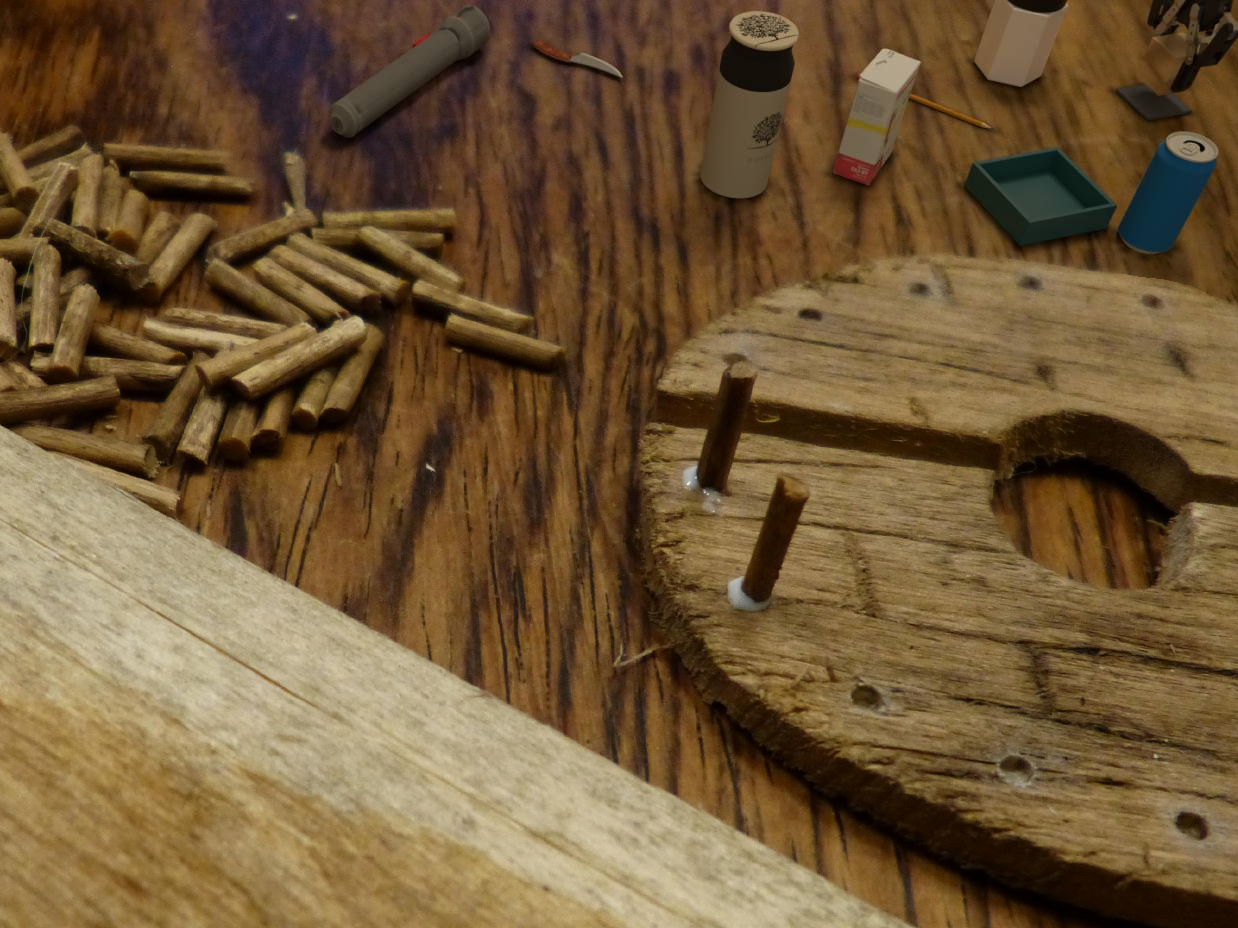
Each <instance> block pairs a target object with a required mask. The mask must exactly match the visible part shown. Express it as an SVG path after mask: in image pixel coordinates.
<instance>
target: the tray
mask: <svg viewBox="0 0 1238 928" xmlns="http://www.w3.org/2000/svg"><path fill="white" fill-rule="evenodd" d="M963 186H964V188H966V189H967V191H968V192H969V193H970V194H971V195H972V196H973V197H974V198H975V199H976V200H977V201H978V202H979V204H980V205H981V206H982V207H983V208H984V209H985V210H986V211H987V212H988V213H989V215H990V216H991V217H992V218H993V219H994V220H995V221H996V222H997V223H998V224H999V225H1000V227H1002V228H1003V230H1004V231H1005V232H1006V233H1007V234H1008V235H1009V236H1010V237H1011V239H1013V241H1014V242H1015V243H1017V245H1018V246H1019V247H1021V246H1022V247H1023V246H1027V245H1033V244H1037V243H1042V242H1047V241H1051V240H1052V241H1053V240H1056V239H1062V238H1066V237H1072V236H1076V235H1081V234H1086V233H1090V232H1097V231H1100V230H1101V231H1102V230H1106V229H1107V228H1108V226H1109V224H1110V222H1111V220H1112V218H1113V216H1114V214H1115V212H1116V210H1117V208H1118V204H1117V203H1116V202H1115V201H1114V200H1113V199H1111V197H1110V196H1109V195H1108V194H1106V192H1105V191H1103V189H1101V187H1099V185H1098V184H1096V182H1095V181H1093V179H1091V178H1090V176H1088V175H1087V174H1086V173H1085V172H1084V171H1083V170H1082V169H1081V168H1080V167H1079V166H1078V164H1076V163H1075V162H1074V161H1073V160H1072V158H1070V157H1069V155H1067V154H1066V153H1065V152H1064V151H1063V150H1062V149H1061V148H1060V147H1059V146H1055V147H1049V148H1043V149H1039V150H1033V151H1028V152H1022V153H1017V154H1012V155H1006V156H1001V157H995V158H989V159H983V160H977V161H973V162H972V163H971V166H970V170H969V171H968V174H967V176H966V180H965V182H964V184H963Z"/></svg>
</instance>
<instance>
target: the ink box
mask: <svg viewBox="0 0 1238 928" xmlns="http://www.w3.org/2000/svg"><path fill="white" fill-rule="evenodd" d="M921 63H922V62H921V61H920V60H917V59H915V58H912V57H910V56H907V55H905V54H902V53H900V52H897V51H894V50H892V49H889V48H882V49H881V50H880V51H879V52H877V55H875V57H874V58H873V59H872V60H871V62H870V63H868V65H867V66H866V67H865V68H864V70H862V72H860V73H861V74H860V79H859V78H858V83H857V86H856V89H855V93H854V96H853V99H852V104H851V107H850V109H849V113H848V117H847V121H846V124H845V128H844V131H843V133H842V138H841V141H840V144H839V149H838V152H837V155H836V159H835V162H834V166H833V170H832V174H834V175H837V176H841V177H843V178H844V179H845V178H846V179H849V180H852V181H854V182H857V183H861V184H862V185H865V186H870V185H871V183H872V182H873V180H874V179H875V178H876V176H877V174H879V172H880V171H881V168H882V167H883V166H884V165H885V163H886V161H887V160H888V158H889V157H890V156H891V154H892V152H893V149H894V146H895V143H896V139H897V137H898V134H899V130H900V127H901V124H902V120H903V117H904V114H905V111H906V108H907V105H908V101H909V99H910V98H909V96H910V93H911V92H912V89H913V86H914V84H915V80H916V77H917V75H918V71H919V69H920V68H919V67H920V66H921ZM911 94H912V93H911Z"/></svg>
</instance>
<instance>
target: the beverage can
mask: <svg viewBox="0 0 1238 928" xmlns="http://www.w3.org/2000/svg"><path fill="white" fill-rule="evenodd" d="M1218 155H1219V148H1218V146H1217V145H1216V144H1215V143H1214V142H1213V141H1212V140H1211V139H1209V138H1208V137H1206V136H1204V135H1202V134H1199V133H1196V132H1193V131H1192V132H1191V131H1175V132H1172V133H1170V134H1168V136H1167V137H1166V139H1165V140H1163V141H1162V142H1161V143H1160V144H1158V146H1157V148H1156V150H1155V151H1154V154H1153V155H1152V157H1151V160H1150V162H1149V163H1148V166H1147V167H1146V170H1145V172H1144V173H1143V176H1142V178H1141V180H1140V182H1139V184H1138V186H1137V188H1136V190H1135V192H1134V194H1133V196H1132V198H1131V200H1130V202H1129V204H1128V206H1127V208H1126V210H1125V212H1124V214H1123V216H1122V218H1121V221H1120V222H1119V223H1118V226H1117V227H1118V228H1117V233H1118V235H1119V236H1120V238H1121V240H1122V242H1123V243H1124V244H1125V245H1126V246H1127V247H1128V248H1130V249H1131V250H1132V251H1135V252H1137V253H1140V254H1146V255H1154V254H1155V255H1156V254H1159V253H1164V252H1166V251H1169V250H1171V248H1173V246H1174V245H1175V243H1176V242H1177V239H1178V237H1179V236H1180V233H1181V232H1182V230H1183V229H1184V227H1185V225H1186V223H1187V221H1188V220H1189V217H1190V215H1191V213H1192V212H1193V210H1194V208H1195V206H1196V205H1197V202H1198V201H1199V199H1200V197H1201V196H1202V193H1203V192H1204V191H1205V188H1206V186H1207V184H1208V183H1209V181H1210V178H1211V177H1212V175H1213V173H1214V171H1215V169H1216V167H1217V165H1218V164H1217V163H1218V160H1217V159H1218V158H1217V157H1218Z"/></svg>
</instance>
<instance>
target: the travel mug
mask: <svg viewBox="0 0 1238 928" xmlns="http://www.w3.org/2000/svg"><path fill="white" fill-rule="evenodd" d="M728 30H729V34H730V40H729V41H728V42H727V44H726V45H725V46H724V48H723V50H722V52H721V57H720V62H719V68H718V75H717V79H716V85H715V89H714V90H715V91H714V97H713V101H712V107H711V111H710V112H711V113H710V117H709V123H708V128H707V129H708V130H707V133H706V134H707V135H706V141H705V145H704V152H703V156H702V161H701V168H700V180H701V182H702V184H703V185H704V186H705V187H706V188H707V189H709V190H710V191H711V192H713V193H715V194H717V195H720V196H721V197H722V196H723V197H726V198H731V199H747V198H748V199H749V198H753V197H755V196H756V197H757V196H759V195H760V194H761V193H763V192H764V191H765V190H766V189H767V186H768V182H769V178H770V174H771V171H772V166H773V162H774V161H773V160H774V156H775V152H776V148H777V144H778V139H779V134H780V130H781V126H782V122H783V118H784V113H785V109H786V105H787V100H788V96H789V91H790V87H791V82H792V77H793V75H794V74H793V73H794V71H795V70H794V69H795V65H796V63H795V58H794V53H793V48H794V45H795V44H797V42H798V41H799V38H800V32H799V29H798V27H797V25H796V24H794V22H793V21H792V20H790V19H788V18H787V17H785V16H783V15H780V14H777V13H774V12H769V11H764V10H763V11H762V10H754V11H753V10H752V11H746V12H742V13H739V14H737V15H735V16H734V17H733V18H732V19H731V20H730V21H729V25H728Z"/></svg>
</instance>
